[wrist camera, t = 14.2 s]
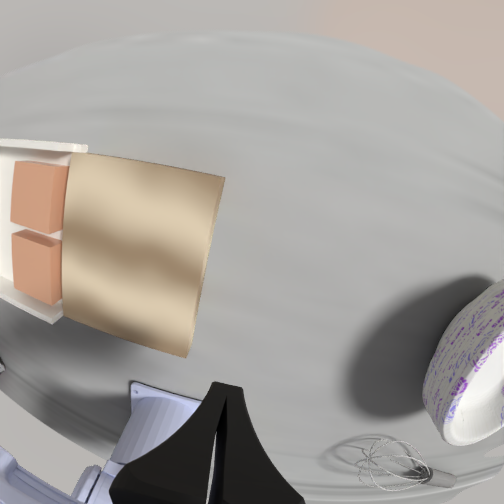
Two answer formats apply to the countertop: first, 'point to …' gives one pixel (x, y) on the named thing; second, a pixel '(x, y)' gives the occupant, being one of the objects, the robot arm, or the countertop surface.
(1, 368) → the candy bar box
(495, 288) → the white purple patterned bowl
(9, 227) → the bin
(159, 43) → the countertop surface
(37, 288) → the terracotta tile
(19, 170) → the terracotta tile
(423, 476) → the kitchen whisk
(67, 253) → the oak board
